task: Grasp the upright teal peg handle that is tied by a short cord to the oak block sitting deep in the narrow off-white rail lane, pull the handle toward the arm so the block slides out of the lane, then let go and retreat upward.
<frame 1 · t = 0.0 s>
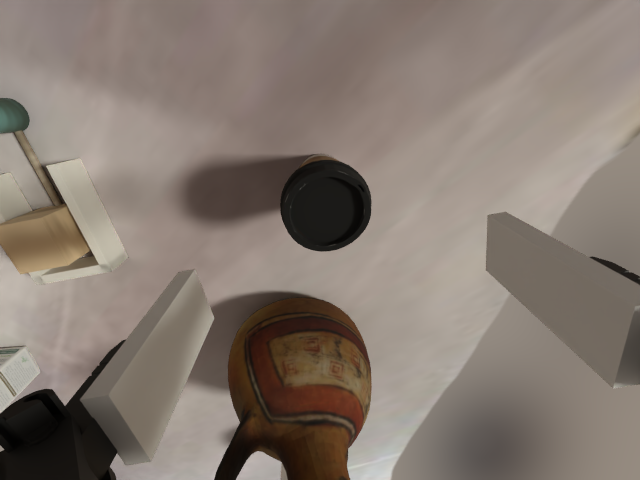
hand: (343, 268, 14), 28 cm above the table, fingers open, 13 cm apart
rail lane: (68, 218, 41), on the table
corded oak block: (72, 225, 42), on the table
coffee cup: (320, 176, 41), on the table
syrup box: (18, 359, 51), on the table
ceramic pitcher: (300, 335, 51), on the table
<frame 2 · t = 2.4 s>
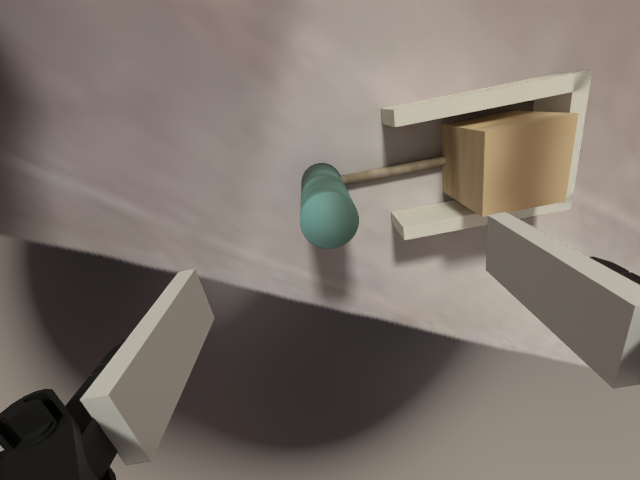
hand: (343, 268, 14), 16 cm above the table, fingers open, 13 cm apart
rail lane: (464, 155, 28), on the table
corded oak block: (475, 153, 28), on the table
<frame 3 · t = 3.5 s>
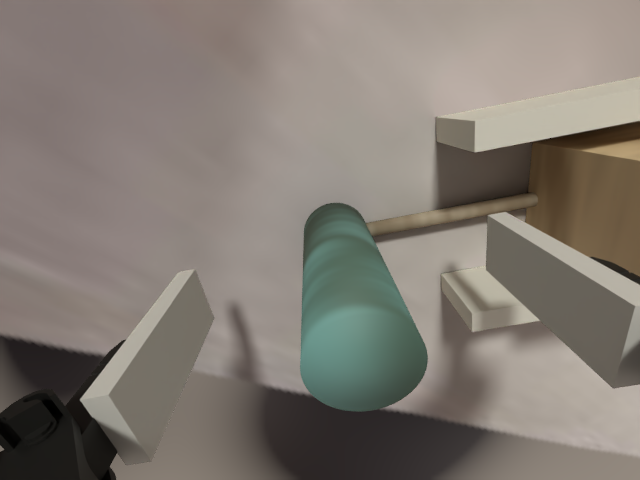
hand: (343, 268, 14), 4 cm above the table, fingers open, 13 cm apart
rail lane: (564, 190, 17), on the table
corded oak block: (581, 186, 17), on the table
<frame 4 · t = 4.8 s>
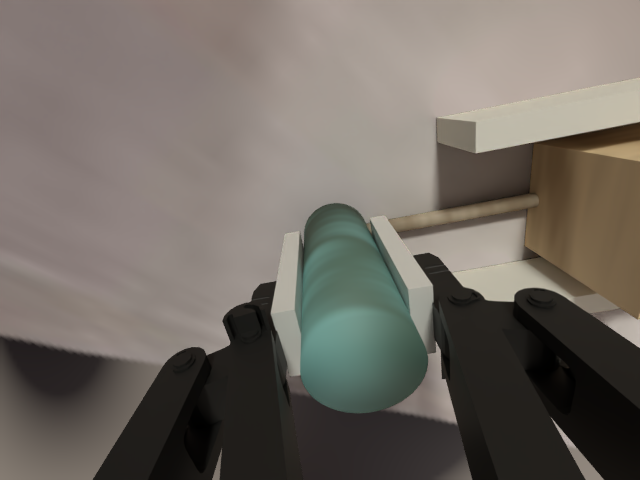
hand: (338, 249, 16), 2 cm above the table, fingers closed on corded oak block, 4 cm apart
rail lane: (565, 191, 17), on the table
corded oak block: (583, 187, 17), on the table, touching gripper
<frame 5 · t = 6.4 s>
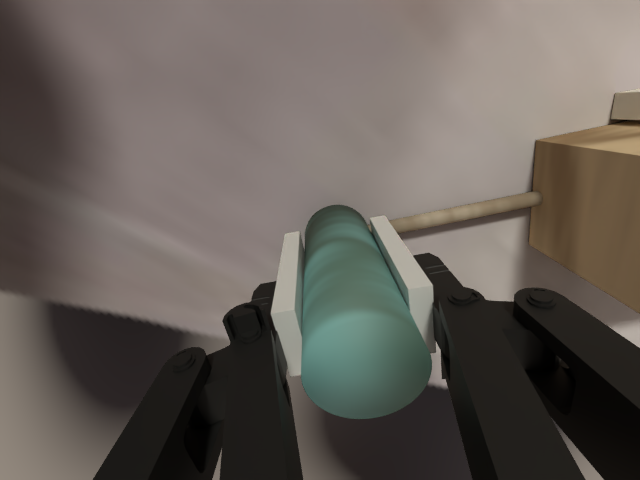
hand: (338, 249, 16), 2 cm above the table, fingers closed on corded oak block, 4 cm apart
corded oak block: (587, 184, 17), on the table, touching gripper
when the fingers open (2 cm above the table, at t = 8.0 s): corded oak block stays where it is, on the table.
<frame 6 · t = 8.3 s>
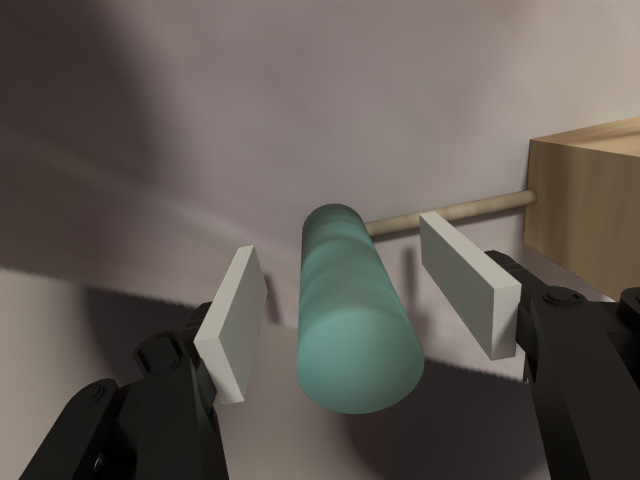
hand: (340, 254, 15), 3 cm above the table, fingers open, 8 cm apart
corded oak block: (581, 183, 17), on the table
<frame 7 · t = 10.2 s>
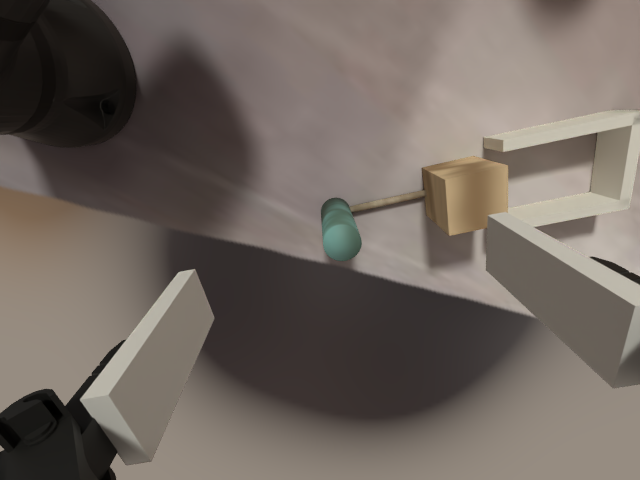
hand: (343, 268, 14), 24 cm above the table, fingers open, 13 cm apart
rail lane: (543, 169, 37), on the table
corded oak block: (449, 186, 38), on the table
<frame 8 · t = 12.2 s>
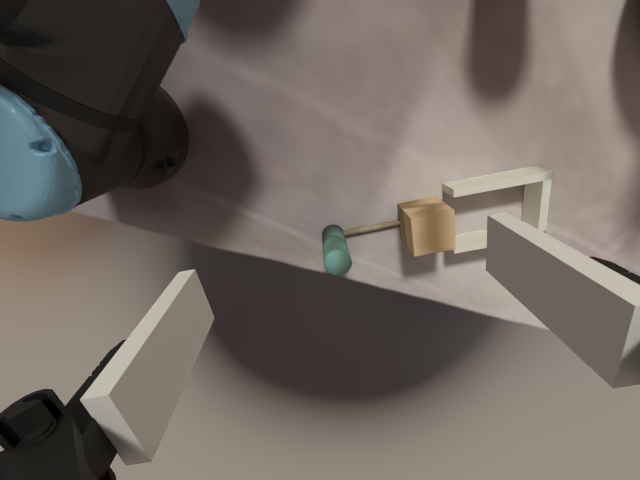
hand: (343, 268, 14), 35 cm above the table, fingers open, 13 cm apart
rail lane: (486, 206, 50), on the table
corded oak block: (417, 217, 50), on the table
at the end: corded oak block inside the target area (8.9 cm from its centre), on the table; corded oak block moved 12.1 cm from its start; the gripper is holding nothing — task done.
